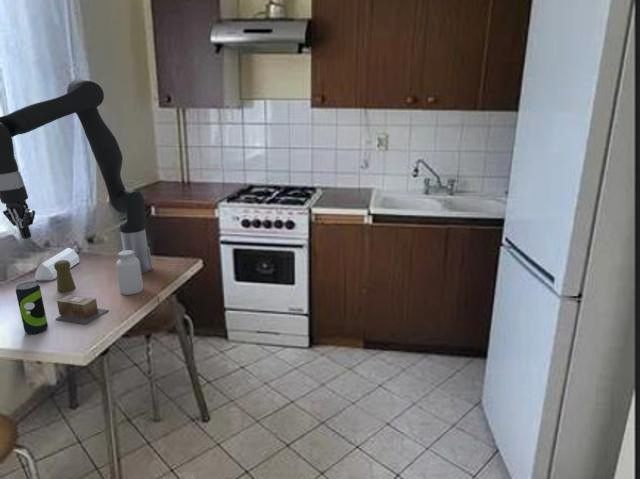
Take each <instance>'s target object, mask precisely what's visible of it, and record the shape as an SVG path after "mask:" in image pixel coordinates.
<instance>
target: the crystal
mask: <svg viewBox="0 0 640 479" xmlns="http://www.w3.org/2000/svg"><path fill="white" fill-rule="evenodd" d="M60 260H67V261H69V263H70V268H69V270H70V269H71V268H72V267H74V266H75V265H77V264H78V263H80V262H81V261H80V256H79V255H78V253H77V252H76V251H75V250H74V249H72V248H70V247H67V248H65V249H63V250H62V251H60V252H58V253H57V254H56V255H53V256H52V257H51V258H48V259H46V260H45V261H44V262H42V263H40V264H39V266H38V267H37V269H36V272H35V275H34V277H35V280H37V281H38V282H39V281H43V282H45V281H52V280H56V279H57V271H56V270H55V268H54V264H55V263H56V262H57V261H60Z"/></svg>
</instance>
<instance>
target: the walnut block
mask: <svg viewBox="0 0 640 479" xmlns="http://www.w3.org/2000/svg"><path fill="white" fill-rule="evenodd" d="M56 303H57V309H58V313H59V316H61V315H63V316H69V317H75V318H82V319H88V318H90V317H92V316H93V315H95V314H97V313H98V309H99V308H98V304H97V298H94V297H93V298H92V297H87V296H81V295H72V294H68V295H66V296H63V297H62V298H60V299H58V300H56Z"/></svg>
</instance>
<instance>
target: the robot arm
mask: <svg viewBox="0 0 640 479" xmlns="http://www.w3.org/2000/svg"><path fill="white" fill-rule="evenodd" d="M104 99H105V94H104V90H103V88H102V87H101V86H100V85H99V83H96V82H95V81H92V80H87V79H73V80H71V81H70V82H69V83H68V84H67V88H66V93H65V94H63V95H60V96H58V97H54V98H51V99H48V100H43V101H39V102H35V103H32V104H29V105H26V106H24V107H22V108H19V109H16V110H15V111H13V112H11V113H8V114H6V115H3V116H0V202H1V204H4V205H5V207H6V210H3V211H2V213H3V215H4V216H5V217H6V219H7V220H8V221H9V222H10V224H11V225H12V226H14V227H15V226H16V227H17V229H18V230H19V233H20V236H21V237H22V239H25V240H28V239H29V238H32V233H31V230H30V226H32V225H33V224H34V219H35V215H36V211H35V210H31V209H30V208H29V205H28V204H27V200H28V199H29V194H28V192H27V189H26V185H25V181H24V179H23V176H22V174H21V172H20V169H19V166H18V163H17V159H16V157H15V152H14V151H15V150H14V144H13V138H14V137H15V136H18V135H19V136H20V135H24V134H28V133H30V132H31V131H34V130H36V129H38V128H41V127H43V126H45V125H48V124H50V123H52V122H54V121H56V120H59V119H62V118H64V117H67V116H69V115H74V114H76V116H77V117H78V120H79V121H80V124H81V126H82V128H83V130H84V134H85V136H86V139H87V141H88V144H89V146H90V150H91V152H92V153H93V154H92V155H93V156H94V159H95V160H96V163H97V166H98V168H99V171H100V173H101V176H102V179H103V181H104V183H105V187H106V191H107V194H108V198H109V200H110V201H109V202H110V204H111V206H112V208H113V209H114V210H115V211H116V212H117V213H120V214H126V221H123V222H121V223H120V225H119V231H120V237H121V238H120V239H121V244H122V251H125V250H132V251H134V255H135V257H136V258H138V259H139V261H140V268H141V275H142V274H145V273H147V272H149V271H151V270H153V264H152V256H151V249H150V246H148V240H147V233H146V222H147V221H146V220H147V214H146V203H145V199H144V196H143V194H142V193H141V191H139V190H135V189H133V190H132V189H126V187H125V185H124V183H123V181H122V177H121V171H122V165H123V161H124V160H123V154H122V151H121V149H120V146H119V142H118V141H117V138H116V137H115V135H114V133H112V131H111V129H110V128H109V127H108V125H107V124H106V123H105V121H104V120H103V118H102V117H101V114H100V111H99V109H98V107H100V106H101V104H102V103H103V101H104Z"/></svg>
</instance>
